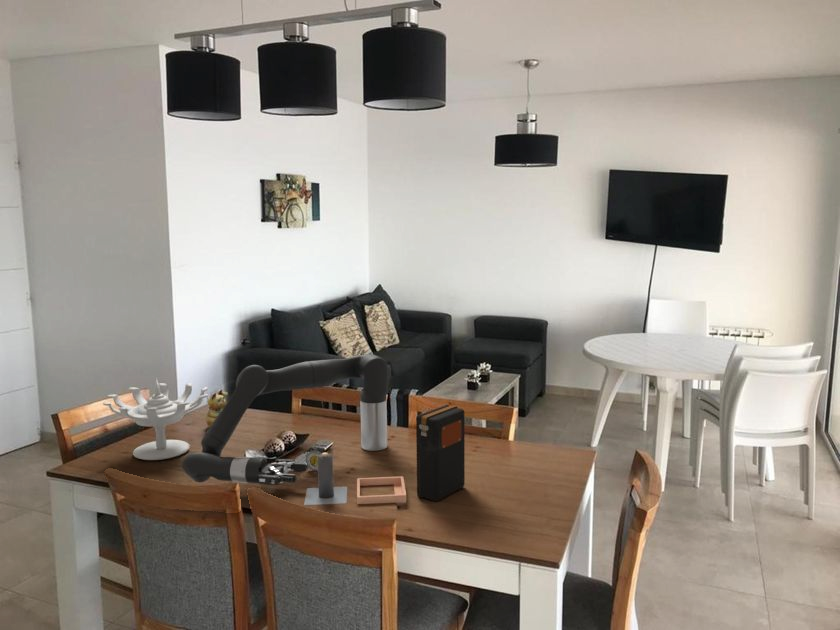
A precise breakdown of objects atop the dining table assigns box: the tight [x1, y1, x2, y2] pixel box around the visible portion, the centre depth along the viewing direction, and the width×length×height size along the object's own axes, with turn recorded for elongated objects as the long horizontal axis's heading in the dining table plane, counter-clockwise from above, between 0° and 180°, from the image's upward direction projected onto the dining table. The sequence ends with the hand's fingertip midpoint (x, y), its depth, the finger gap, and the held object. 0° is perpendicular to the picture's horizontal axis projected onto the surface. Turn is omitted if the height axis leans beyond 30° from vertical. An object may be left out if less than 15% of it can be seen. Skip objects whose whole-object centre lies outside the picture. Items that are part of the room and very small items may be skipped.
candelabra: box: [102, 377, 209, 461], centre depth 237 cm, size 34×35×27 cm
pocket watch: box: [300, 442, 323, 480], centre depth 216 cm, size 8×8×10 cm
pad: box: [303, 486, 348, 506], centre depth 199 cm, size 12×12×1 cm
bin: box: [356, 475, 407, 506], centre depth 200 cm, size 14×14×3 cm
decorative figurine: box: [205, 389, 229, 428], centre depth 266 cm, size 10×8×15 cm
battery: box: [317, 452, 335, 499], centre depth 198 cm, size 4×4×13 cm
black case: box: [415, 404, 466, 502], centre depth 201 cm, size 16×9×25 cm, turn 141°
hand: (301, 472), depth 200 cm, fingers open, 8 cm apart
